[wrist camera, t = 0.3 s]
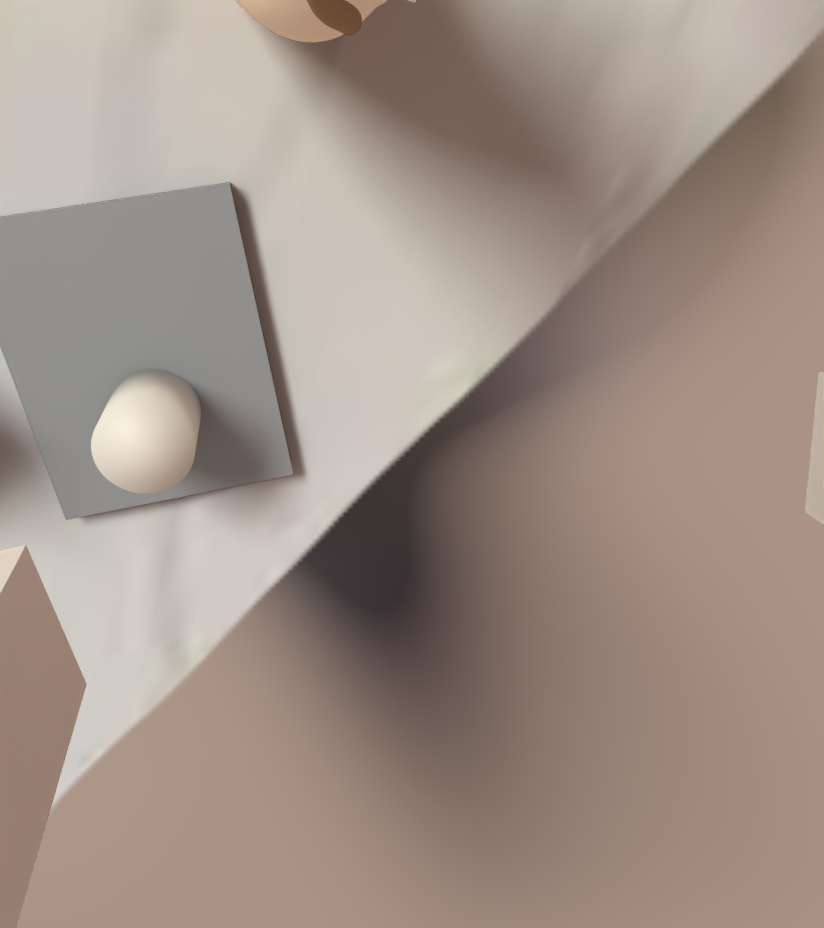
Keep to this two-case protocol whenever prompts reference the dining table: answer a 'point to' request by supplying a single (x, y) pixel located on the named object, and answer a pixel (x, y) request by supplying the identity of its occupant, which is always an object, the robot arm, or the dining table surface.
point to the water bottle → (311, 17)
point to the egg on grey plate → (139, 349)
